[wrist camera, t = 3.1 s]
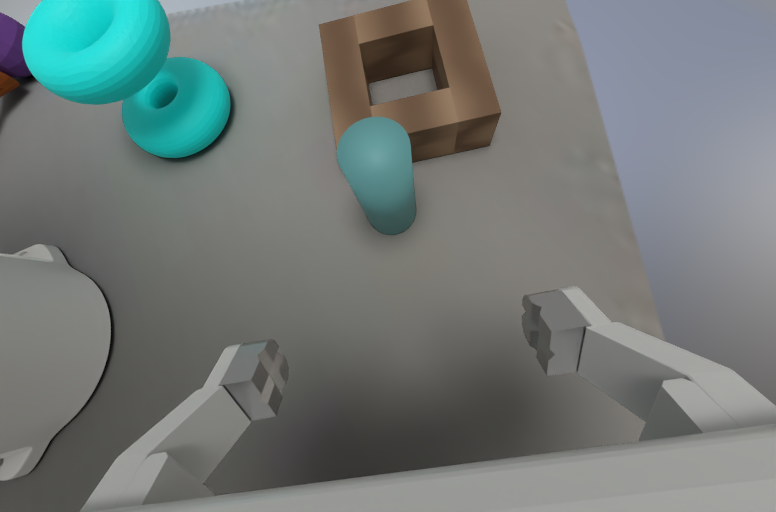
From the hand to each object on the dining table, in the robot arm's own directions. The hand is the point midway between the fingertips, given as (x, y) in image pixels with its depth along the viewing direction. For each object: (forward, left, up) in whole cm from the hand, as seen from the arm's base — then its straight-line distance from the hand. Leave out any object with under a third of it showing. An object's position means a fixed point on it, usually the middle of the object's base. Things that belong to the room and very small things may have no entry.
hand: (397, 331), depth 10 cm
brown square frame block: (+3, +19, -13) cm, 24 cm away
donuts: (-18, +23, -13) cm, 32 cm away
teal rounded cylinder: (0, +9, -13) cm, 16 cm away
